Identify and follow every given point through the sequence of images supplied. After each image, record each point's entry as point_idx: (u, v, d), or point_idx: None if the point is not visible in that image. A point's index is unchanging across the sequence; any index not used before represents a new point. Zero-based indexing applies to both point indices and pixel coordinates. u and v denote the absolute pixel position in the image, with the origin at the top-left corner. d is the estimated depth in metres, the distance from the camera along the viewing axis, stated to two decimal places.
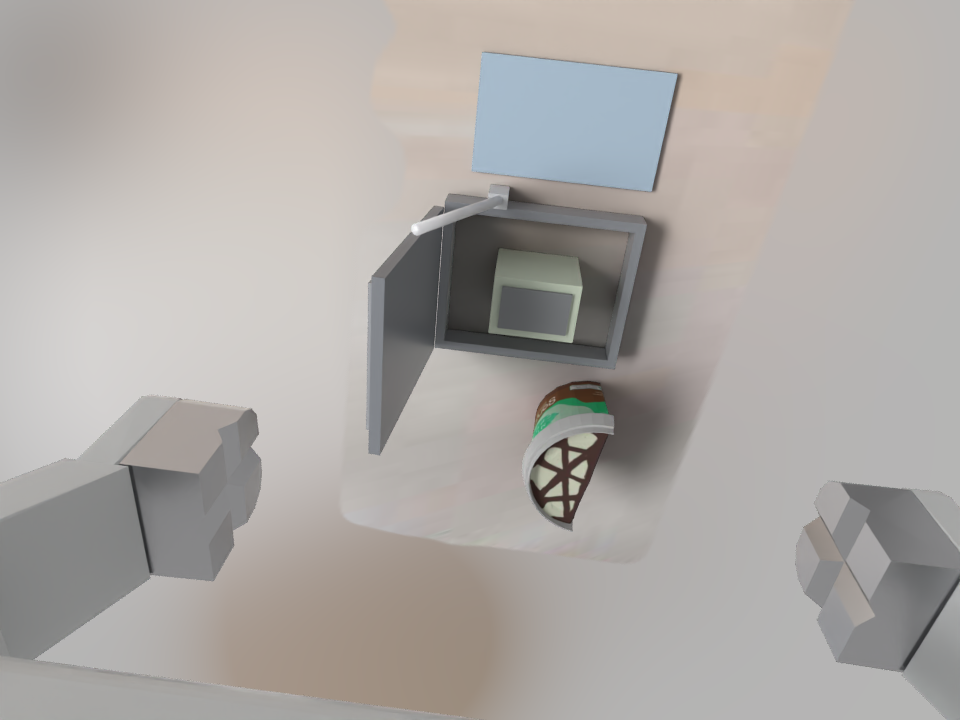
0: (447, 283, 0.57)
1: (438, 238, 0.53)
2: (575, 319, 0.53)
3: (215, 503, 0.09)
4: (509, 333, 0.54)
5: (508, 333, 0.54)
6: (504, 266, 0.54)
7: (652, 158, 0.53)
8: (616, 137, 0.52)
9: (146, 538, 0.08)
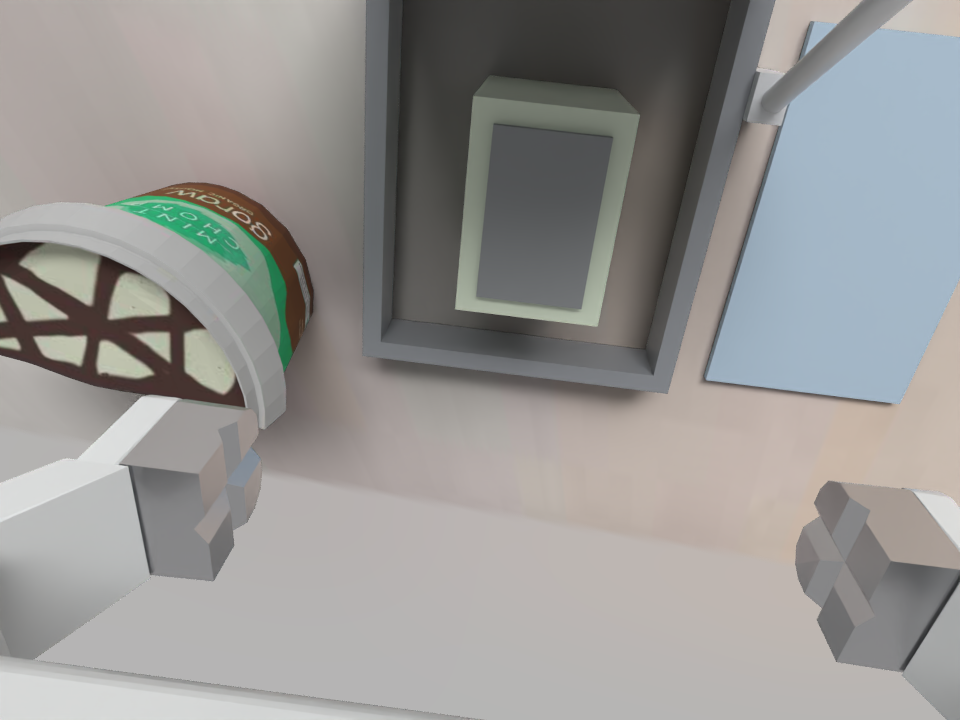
0: None
1: None
2: (516, 314, 0.23)
3: (215, 503, 0.09)
4: (473, 156, 0.20)
5: (473, 153, 0.20)
6: None
7: (765, 377, 0.30)
8: (817, 319, 0.29)
9: (146, 538, 0.08)
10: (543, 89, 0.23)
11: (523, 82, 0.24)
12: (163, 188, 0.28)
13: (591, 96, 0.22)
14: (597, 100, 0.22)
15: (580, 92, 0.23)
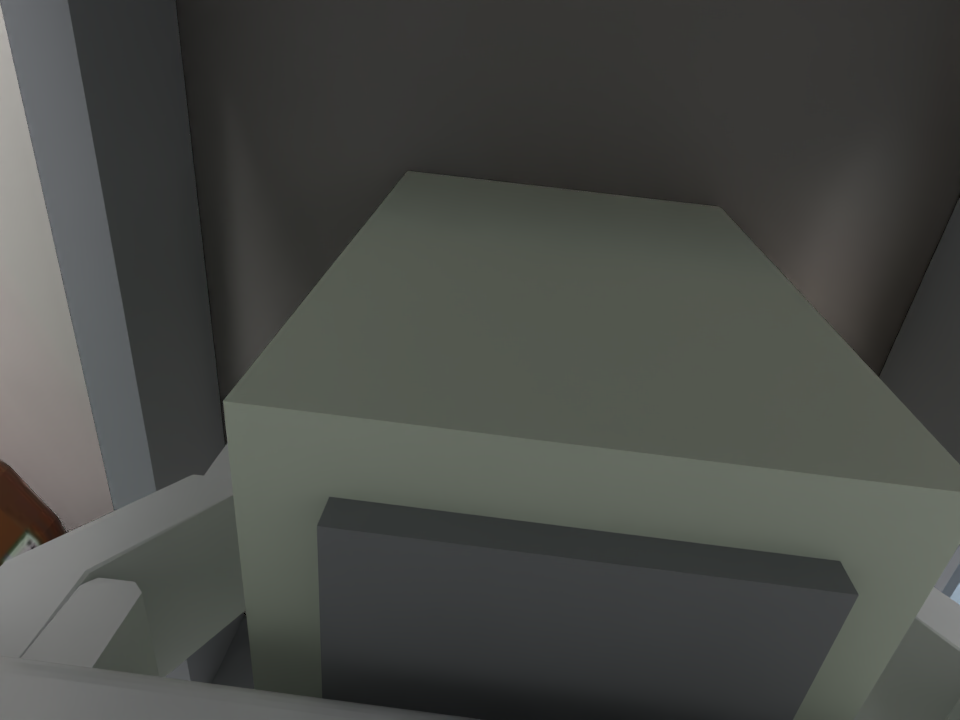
0: None
1: None
2: None
3: None
4: (265, 592, 0.05)
5: (263, 585, 0.05)
6: None
7: None
8: None
9: None
10: (540, 247, 0.08)
11: (487, 203, 0.09)
12: None
13: (689, 280, 0.07)
14: (722, 316, 0.06)
15: (647, 250, 0.08)
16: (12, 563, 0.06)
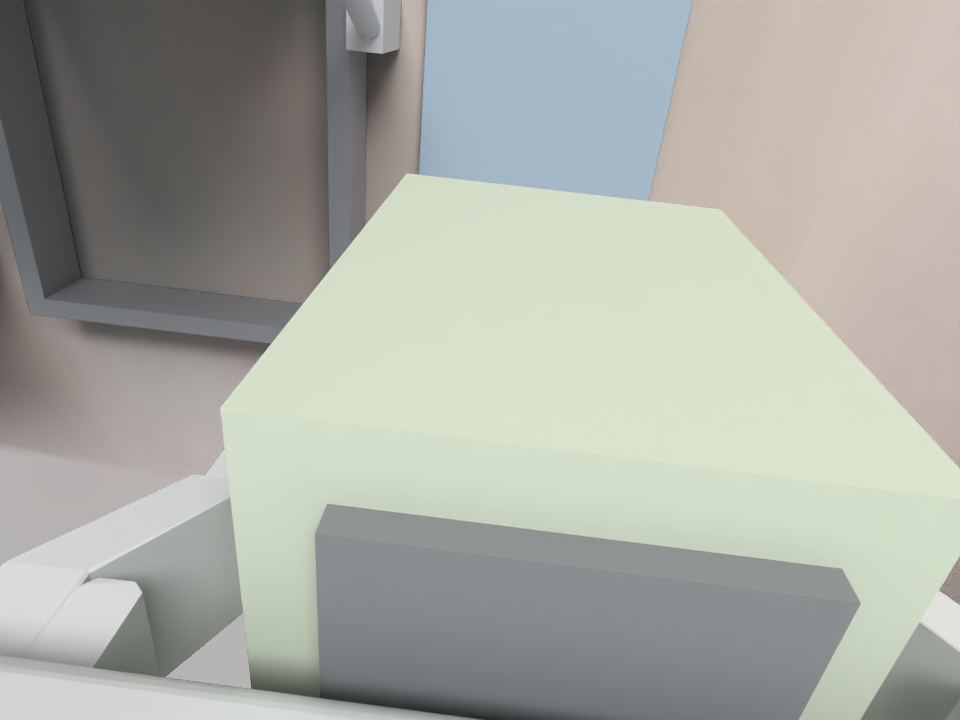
0: None
1: None
2: None
3: None
4: (263, 600, 0.05)
5: (261, 592, 0.05)
6: None
7: None
8: None
9: None
10: (540, 251, 0.08)
11: (487, 206, 0.09)
12: None
13: (690, 283, 0.07)
14: (723, 320, 0.06)
15: (647, 253, 0.08)
16: (13, 563, 0.06)
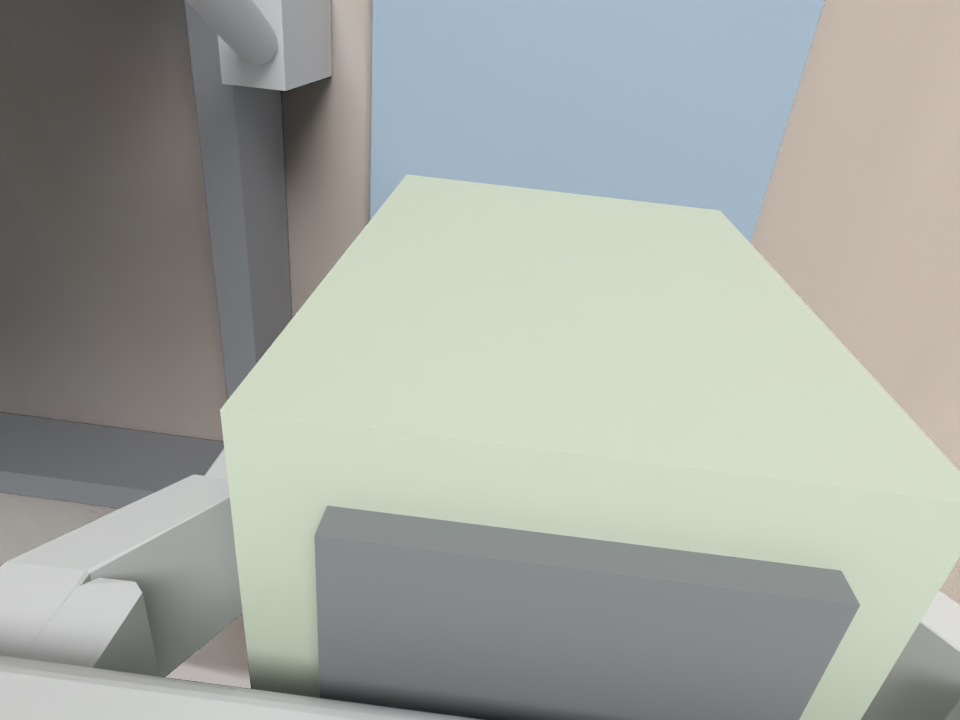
0: None
1: None
2: None
3: None
4: (263, 601, 0.05)
5: (261, 593, 0.05)
6: None
7: None
8: None
9: None
10: (540, 252, 0.08)
11: (486, 207, 0.09)
12: None
13: (689, 285, 0.07)
14: (723, 322, 0.06)
15: (647, 254, 0.08)
16: (13, 563, 0.06)
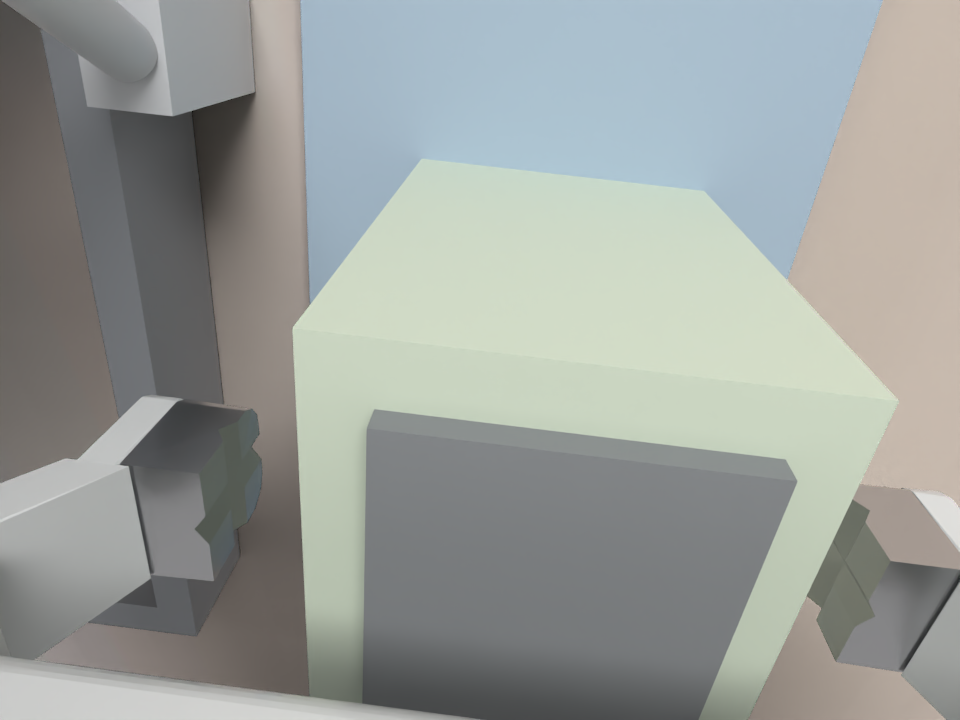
0: None
1: None
2: None
3: (216, 504, 0.09)
4: (318, 495, 0.06)
5: (316, 488, 0.06)
6: None
7: None
8: None
9: (146, 538, 0.08)
10: (542, 221, 0.09)
11: (494, 186, 0.10)
12: None
13: (672, 248, 0.08)
14: (698, 275, 0.08)
15: (636, 224, 0.09)
16: None
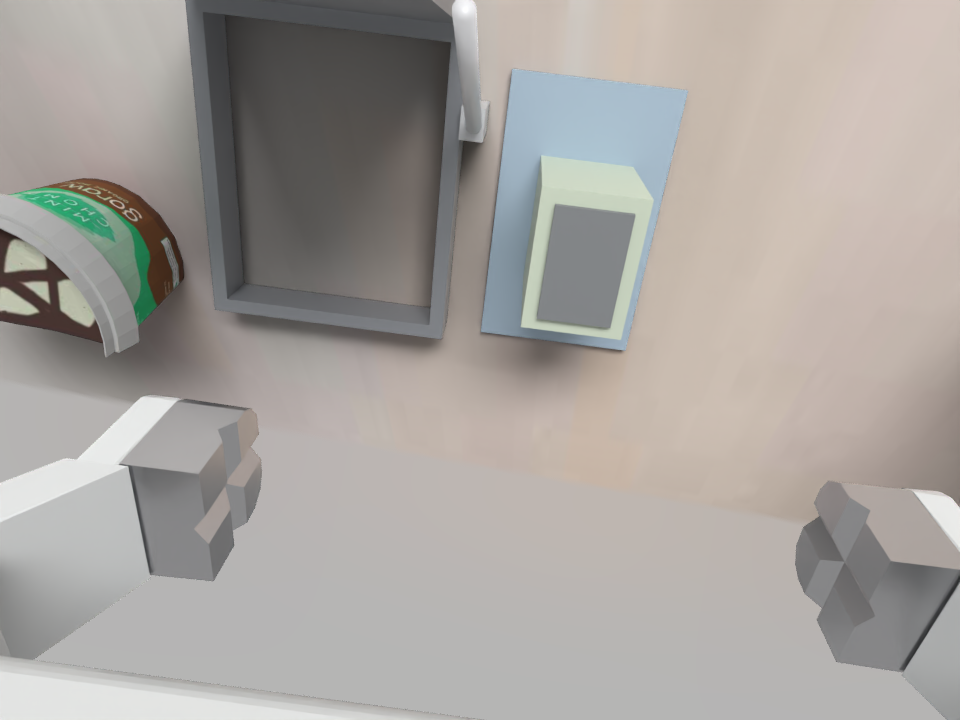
0: (318, 24, 0.31)
1: (408, 16, 0.29)
2: (563, 330, 0.32)
3: (215, 503, 0.09)
4: (540, 224, 0.30)
5: (540, 223, 0.30)
6: None
7: (524, 330, 0.40)
8: None
9: (146, 538, 0.08)
10: (583, 172, 0.33)
11: (567, 163, 0.34)
12: (62, 182, 0.37)
13: (618, 179, 0.32)
14: (623, 184, 0.31)
15: (609, 174, 0.33)
16: None
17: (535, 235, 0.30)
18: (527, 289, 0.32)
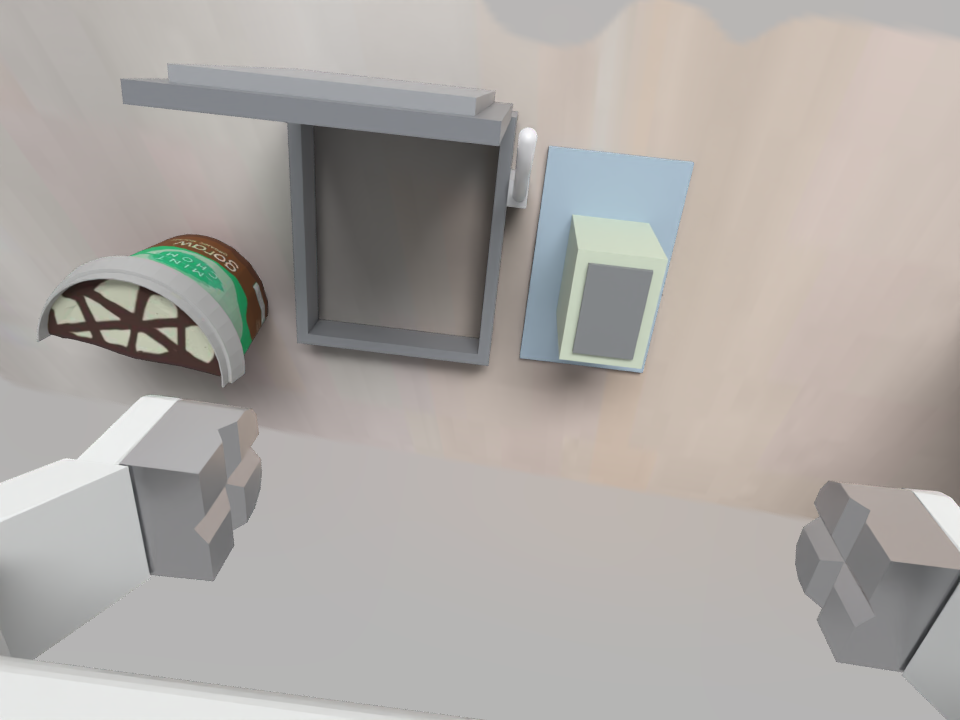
0: None
1: None
2: (594, 361, 0.40)
3: (215, 503, 0.09)
4: (576, 279, 0.37)
5: (576, 277, 0.37)
6: None
7: (556, 356, 0.48)
8: None
9: (146, 538, 0.08)
10: (609, 232, 0.40)
11: (595, 223, 0.41)
12: (171, 239, 0.45)
13: (637, 238, 0.39)
14: (642, 243, 0.38)
15: (630, 232, 0.40)
16: None
17: (572, 287, 0.38)
18: (565, 329, 0.39)
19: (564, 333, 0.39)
